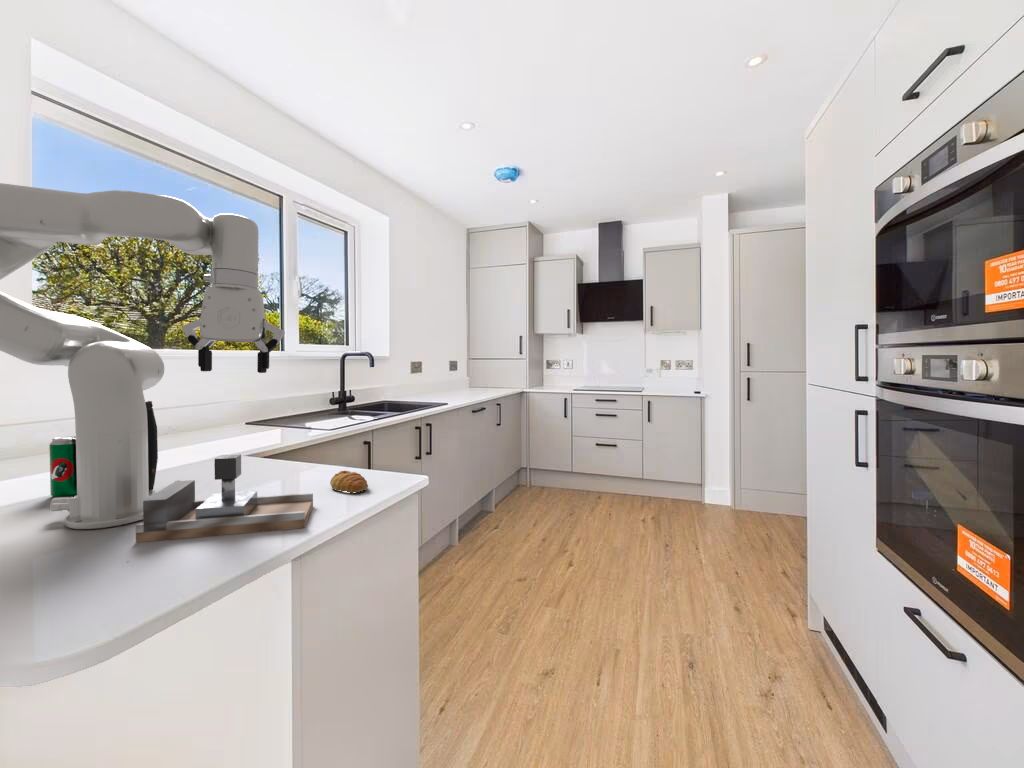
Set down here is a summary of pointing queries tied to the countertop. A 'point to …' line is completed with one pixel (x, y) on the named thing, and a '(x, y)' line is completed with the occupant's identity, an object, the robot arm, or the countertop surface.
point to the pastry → (348, 482)
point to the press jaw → (227, 492)
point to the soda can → (63, 467)
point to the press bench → (176, 518)
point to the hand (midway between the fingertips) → (234, 371)
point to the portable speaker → (151, 444)
